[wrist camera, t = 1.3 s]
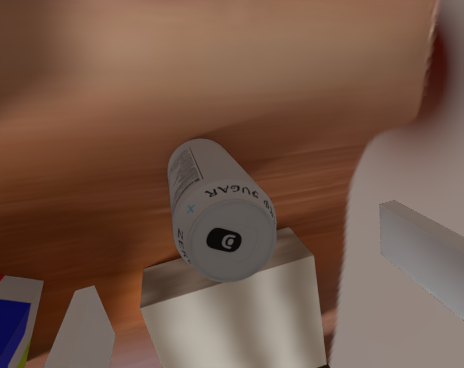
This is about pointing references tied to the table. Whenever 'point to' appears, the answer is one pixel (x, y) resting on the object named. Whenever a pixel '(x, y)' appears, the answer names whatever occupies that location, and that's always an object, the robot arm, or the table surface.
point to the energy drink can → (219, 213)
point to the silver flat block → (237, 313)
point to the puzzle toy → (17, 318)
